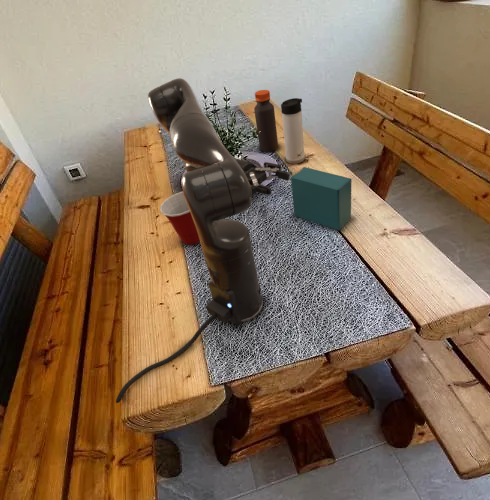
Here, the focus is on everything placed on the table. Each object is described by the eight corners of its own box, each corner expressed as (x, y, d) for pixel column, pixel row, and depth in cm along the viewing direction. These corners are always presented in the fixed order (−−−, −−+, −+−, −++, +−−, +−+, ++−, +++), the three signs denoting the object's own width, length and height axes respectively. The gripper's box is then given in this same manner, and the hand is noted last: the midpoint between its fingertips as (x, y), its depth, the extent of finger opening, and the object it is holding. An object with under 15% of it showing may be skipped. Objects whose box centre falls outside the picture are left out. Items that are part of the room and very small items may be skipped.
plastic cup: (173, 229, 110) (161, 193, 102) (211, 223, 109) (201, 186, 102) (170, 254, 101) (156, 217, 94) (211, 247, 101) (200, 209, 93)
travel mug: (304, 163, 128) (300, 103, 116) (285, 164, 130) (278, 104, 117) (306, 154, 133) (303, 95, 120) (287, 155, 135) (282, 97, 122)
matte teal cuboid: (339, 230, 99) (338, 190, 91) (294, 215, 107) (290, 177, 99) (350, 218, 102) (351, 178, 94) (306, 204, 110) (303, 166, 102)
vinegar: (281, 148, 139) (275, 91, 127) (265, 154, 138) (257, 97, 125) (273, 142, 144) (266, 87, 132) (256, 148, 142) (248, 92, 130)
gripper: (218, 171, 110) (262, 184, 101) (250, 150, 118) (293, 160, 109) (223, 193, 115) (265, 208, 106) (253, 171, 123) (295, 183, 114)
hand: (279, 184), depth 108 cm, fingers open, 8 cm apart
